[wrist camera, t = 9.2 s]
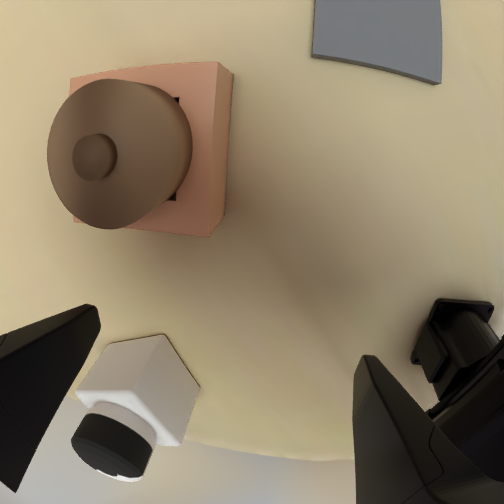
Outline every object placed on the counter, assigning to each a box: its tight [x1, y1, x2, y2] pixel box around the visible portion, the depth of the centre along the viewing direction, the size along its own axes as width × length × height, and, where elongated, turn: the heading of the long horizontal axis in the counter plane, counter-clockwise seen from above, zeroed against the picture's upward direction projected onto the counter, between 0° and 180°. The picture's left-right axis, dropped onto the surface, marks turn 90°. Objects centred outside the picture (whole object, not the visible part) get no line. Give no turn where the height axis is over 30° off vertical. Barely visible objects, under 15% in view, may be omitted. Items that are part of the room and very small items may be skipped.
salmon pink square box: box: [69, 62, 234, 237], centre depth 16 cm, size 9×9×4 cm
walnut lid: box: [47, 79, 193, 229], centre depth 13 cm, size 7×7×4 cm
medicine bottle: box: [71, 335, 200, 482], centre depth 21 cm, size 7×7×12 cm
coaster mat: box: [311, 0, 442, 85], centre depth 12 cm, size 8×8×1 cm
